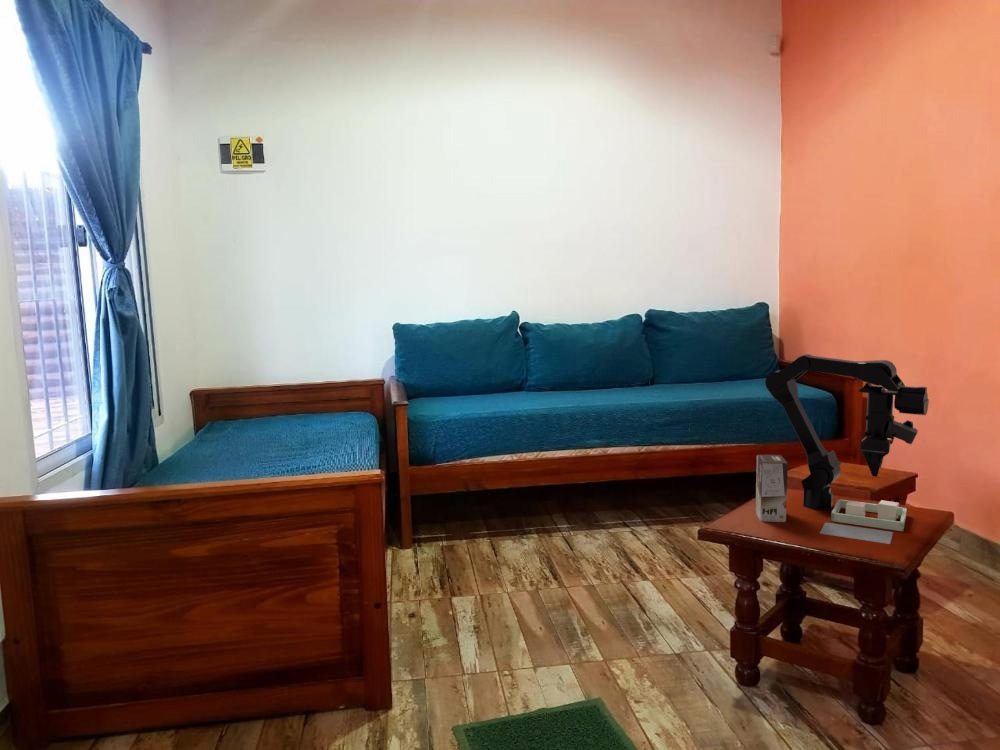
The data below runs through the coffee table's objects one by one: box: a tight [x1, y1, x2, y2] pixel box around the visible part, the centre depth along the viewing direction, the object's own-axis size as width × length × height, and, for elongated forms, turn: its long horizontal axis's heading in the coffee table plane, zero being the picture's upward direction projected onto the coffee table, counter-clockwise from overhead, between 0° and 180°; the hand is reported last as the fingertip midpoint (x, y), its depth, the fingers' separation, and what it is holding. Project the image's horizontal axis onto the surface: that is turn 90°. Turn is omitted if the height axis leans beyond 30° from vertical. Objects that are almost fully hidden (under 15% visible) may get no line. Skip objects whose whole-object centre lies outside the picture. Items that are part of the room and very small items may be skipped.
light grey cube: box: [877, 499, 900, 521], centre depth 190 cm, size 4×4×4 cm
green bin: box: [830, 498, 908, 532], centre depth 191 cm, size 16×13×3 cm
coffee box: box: [755, 454, 789, 523], centre depth 193 cm, size 9×6×16 cm
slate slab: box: [819, 521, 894, 545], centre depth 180 cm, size 15×9×1 cm, turn 59°
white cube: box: [845, 500, 867, 517], centre depth 190 cm, size 4×4×4 cm
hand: (876, 472), depth 191 cm, fingers open, 9 cm apart
